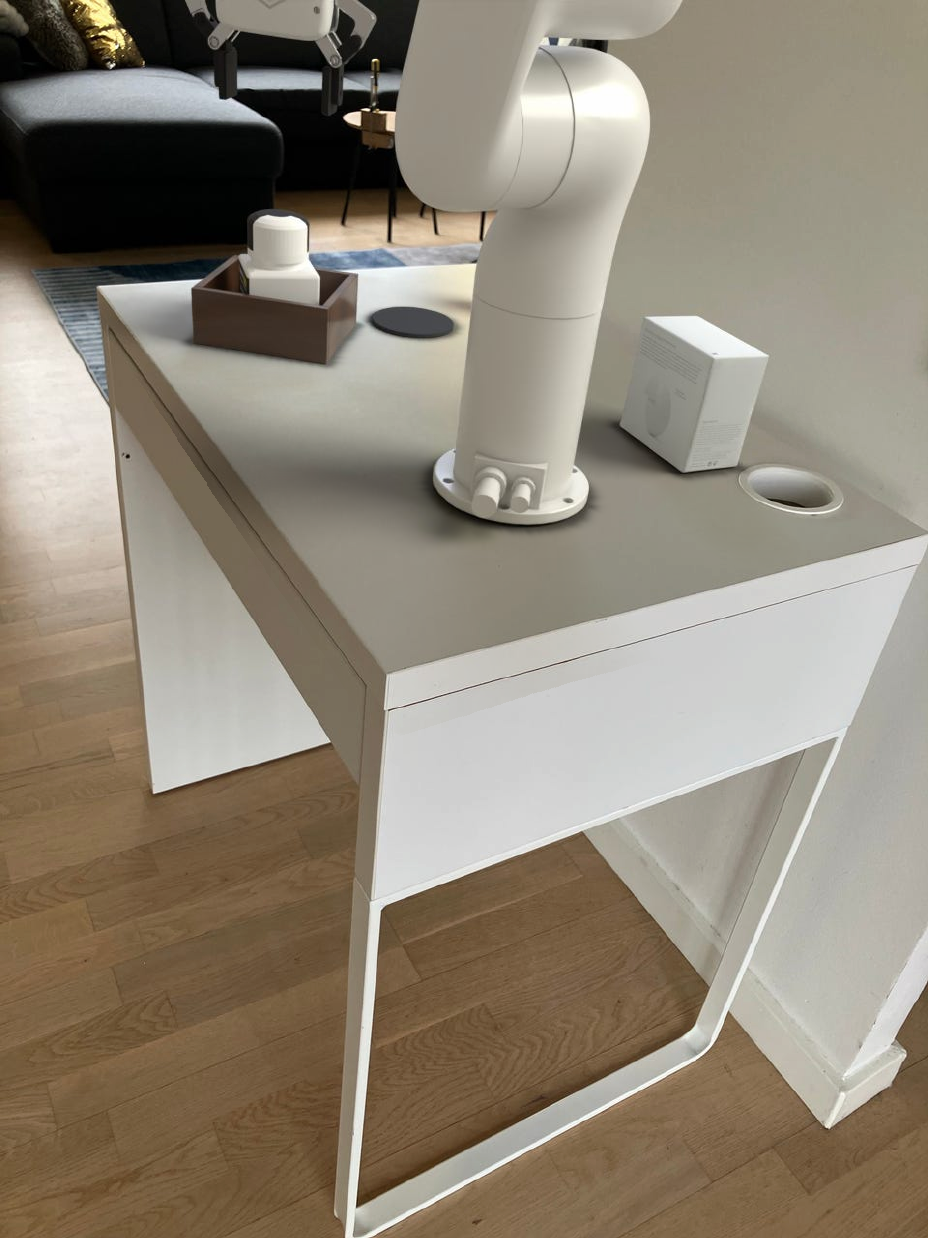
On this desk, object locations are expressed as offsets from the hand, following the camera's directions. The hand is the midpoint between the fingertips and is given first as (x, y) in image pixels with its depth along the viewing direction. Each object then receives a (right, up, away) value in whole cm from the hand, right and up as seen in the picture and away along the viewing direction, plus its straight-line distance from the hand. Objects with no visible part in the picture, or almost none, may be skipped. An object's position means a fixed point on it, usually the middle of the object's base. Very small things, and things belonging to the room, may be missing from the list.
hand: (278, 105), depth 95 cm
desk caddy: (-2, -18, +12) cm, 22 cm away
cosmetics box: (+37, -32, -1) cm, 49 cm away
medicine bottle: (-2, -18, +12) cm, 22 cm away
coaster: (+12, -15, +19) cm, 27 cm away
